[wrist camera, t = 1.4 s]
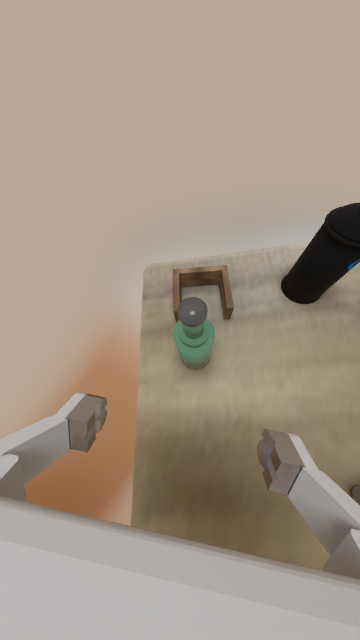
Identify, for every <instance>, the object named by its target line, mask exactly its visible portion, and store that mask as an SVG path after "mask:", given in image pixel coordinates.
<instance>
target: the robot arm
mask: <svg viewBox="0 0 360 640" xmlns="http://www.w3.org/2000/svg"><path fill="white" fill-rule="evenodd" d="M106 405H107V398H105V397H100V396H95V395H91V394H86V393H81V392H78V393H75V394H74V395H73V397H72V398H71V399H70V400H69V401H68V402H67V403H66V404H65V405H64V406H63V407H62V408H61V409H60V410H59V411H58V412H57V414H56V415H55V416H49V417H47V418H45V419H43V420H41V421H39V422H36V423H34V424H32V425H30V426H28V427H26V428H23V429H22V430H19V431H17V432H15V433H13V434H11V435H8V436H6V437H4V438H2V439H0V640H360V505H359V504H358V503H357V502H356V501H354V500H353V499H352V498H351V497H350V496H349V495H348V494H347V493H346V492H345V491H343V490H342V489H341V488H340V487H339V486H338V485H337V484H336V483H335V482H334V481H332V480H331V479H330V478H329V477H328V476H327V475H326V474H325V473H324V472H323V471H319V470H318V468H317V466H316V465H315V463H314V461H313V460H312V458H311V456H310V454H309V453H308V451H307V449H306V448H305V446H304V444H303V442H302V441H301V439H300V437H299V436H298V435H296V434H291V433H285V432H280V431H275V430H269V429H264V430H263V432H262V436H263V439H262V440H260V441H259V443H258V447H257V454H258V459H259V463H260V464H261V465H262V467H263V468H264V472H263V476H264V479H265V482H266V486H267V489H268V491H272V492H276V493H280V494H284V495H288V498H289V499H290V501H291V502H292V503H293V505H294V506H295V508H296V509H297V510H298V512H299V513H300V514H301V516H302V517H303V519H304V520H305V521H306V523H307V524H308V525H309V527H310V528H311V530H312V531H313V532H314V534H315V535H316V536H317V538H318V539H319V541H320V542H321V543H322V545H323V546H324V547H325V549H326V550H327V552H328V553H329V554H330V557H329V559H328V560H327V561H326V563H325V564H324V566H323V571H321V570H317V569H312V568H308V567H304V566H299V565H295V564H291V563H287V562H282V561H278V560H274V559H269V558H265V557H261V556H257V555H252V554H248V553H244V552H239V551H235V550H231V549H227V548H222V547H218V546H214V545H209V544H205V543H201V542H197V541H192V540H188V539H184V538H179V537H175V536H171V535H166V534H162V533H158V532H154V531H149V530H145V529H141V528H136V527H132V526H128V525H123V524H119V523H115V522H110V521H106V520H102V519H97V518H93V517H89V516H84V515H80V514H76V513H71V512H67V511H63V510H58V509H54V508H50V507H46V506H41V505H37V504H33V503H28V502H25V501H26V492H25V487H24V484H26V483H27V482H28V481H30V480H31V479H32V478H34V477H35V476H36V475H37V474H39V473H40V472H41V471H43V470H44V469H45V468H47V467H48V466H49V465H51V464H52V463H53V462H55V461H56V460H57V459H59V458H60V457H61V456H63V455H64V454H65V453H67V452H68V451H69V450H70V449H73V450H79V451H84V452H88V451H89V449H90V447H91V445H92V444H93V442H94V441H95V439H96V433H97V432H99V431H100V430H101V429H102V427H103V425H104V422H105V420H106V416H107V410H106V409H105V406H106Z"/></svg>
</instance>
